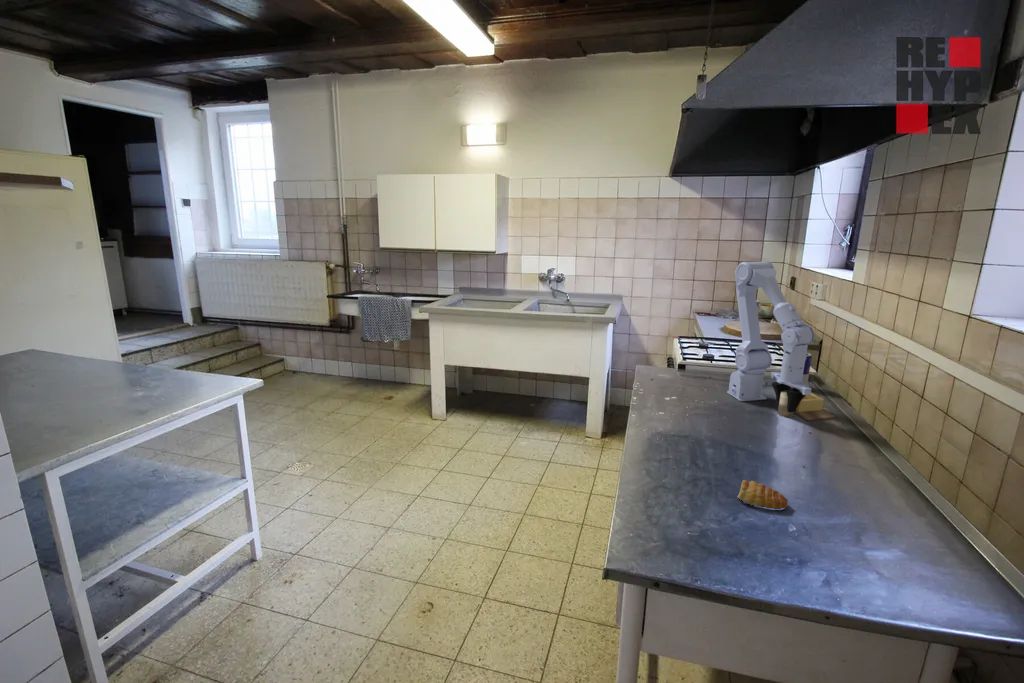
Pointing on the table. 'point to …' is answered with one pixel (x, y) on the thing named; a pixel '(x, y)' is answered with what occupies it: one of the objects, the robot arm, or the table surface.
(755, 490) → the pastry
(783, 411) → the birch dowel
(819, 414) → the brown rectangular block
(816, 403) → the socket block
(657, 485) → the table surface
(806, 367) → the energy drink
